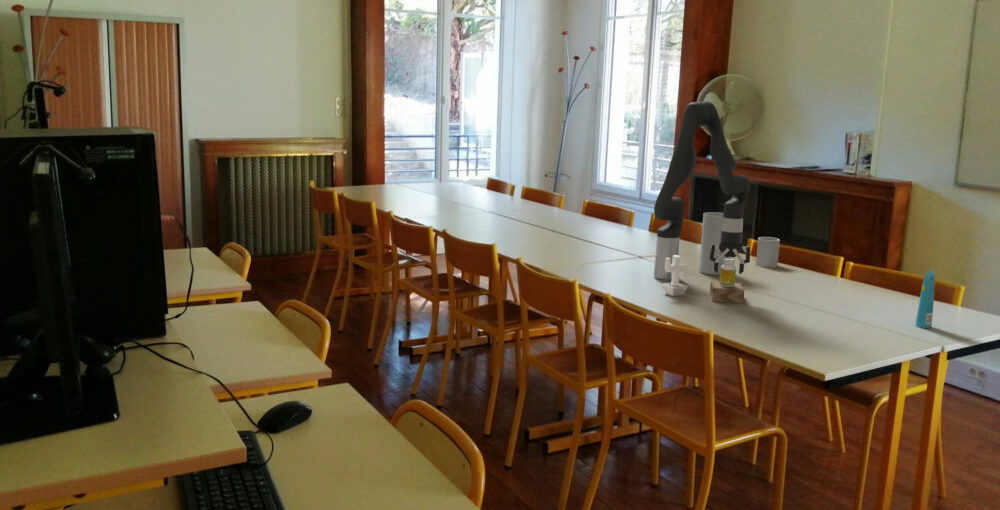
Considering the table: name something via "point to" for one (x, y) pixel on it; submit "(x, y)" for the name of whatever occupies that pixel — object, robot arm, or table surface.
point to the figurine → (675, 276)
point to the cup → (767, 252)
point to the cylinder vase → (711, 242)
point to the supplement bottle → (728, 273)
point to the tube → (926, 301)
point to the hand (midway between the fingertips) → (728, 272)
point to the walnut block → (726, 293)
